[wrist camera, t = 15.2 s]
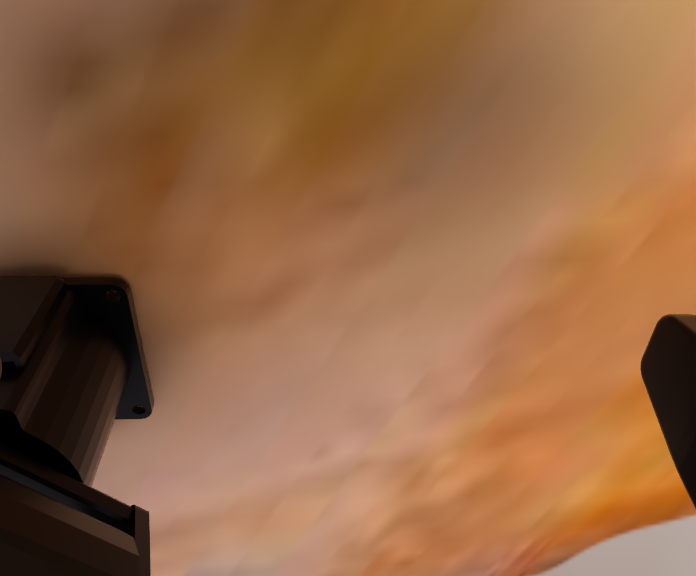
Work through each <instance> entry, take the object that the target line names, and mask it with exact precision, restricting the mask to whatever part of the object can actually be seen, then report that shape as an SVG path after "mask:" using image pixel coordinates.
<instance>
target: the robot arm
mask: <svg viewBox="0 0 696 576" xmlns="http://www.w3.org/2000/svg"><path fill="white" fill-rule="evenodd" d="M110 290H113V291H116V292H118V293H119V294H120V295H119V296H115V295H112V294H111V293H110V292H109V291H110ZM641 375H642V379H643V381H644V384H645V387H646V389H647V392H648V395H649V397H650V400H651V403H652V405H653V408H654V411H655V414H656V416H657V419H658V422H659V424H660V427H661V430H662V432H663V435H664V438H665V440H666V443H667V446H668V449H669V451H670V454H671V456H672V459H673V461H674V464H675V466H676V469H677V471H678V473H679V475H680V478H681V480H682V482H683V484H684V486H685V488H686V490H687V492H688V494H689V496H690V498H691V500H692V502H693V504H694V506H695V509H696V316H695V315H688V314H668V315H665V316H663V317H662V318H661V319H660V320H659V321H658V322H657V324H656V327H655V329H654V331H653V334H652V336H651V338H650V341H649V343H648V345H647V348H646V350H645V352H644V355H643V357H642V360H641ZM137 405H139V406H142V407H138V406H137ZM153 406H154V401H153V396H152V391H151V387H150V382H149V377H148V372H147V367H146V362H145V358H144V353H143V348H142V343H141V338H140V333H139V329H138V324H137V319H136V314H135V309H134V304H133V299H132V295H131V290H130V288H129V285H128V284H127V283H126V282H125V281H123V280H121V279H117V278H59V277H56V276H0V576H150V530H149V512H148V511H146V510H144V509H142V508H140V507H138V506H136V505H132V506H129V505H127V504H125V503H123V502H121V501H118V500H116V499H114V498H112V497H110V496H108V495H106V494H104V493H102V492H100V491H98V490H96V489H94V488H92V487H91V486H92V483H93V480H94V477H95V474H96V471H97V469H98V466H99V463H100V460H101V457H102V454H103V451H104V448H105V445H106V443H107V440H108V437H109V434H110V431H111V428H112V425H113V422H114V419H143V418H147V417H148V416H150V414H151V413H152V409H153Z"/></svg>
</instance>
